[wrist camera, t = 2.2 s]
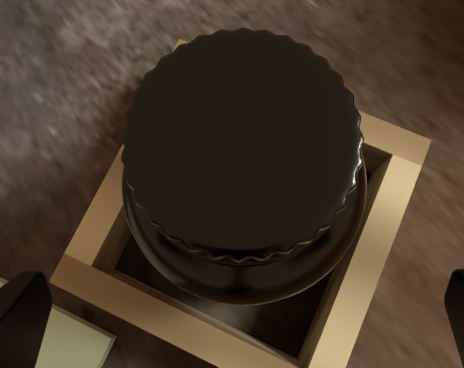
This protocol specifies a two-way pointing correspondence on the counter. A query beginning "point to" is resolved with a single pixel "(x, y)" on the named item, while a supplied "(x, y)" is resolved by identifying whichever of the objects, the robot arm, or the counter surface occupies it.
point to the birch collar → (218, 333)
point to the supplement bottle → (243, 167)
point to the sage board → (72, 341)
